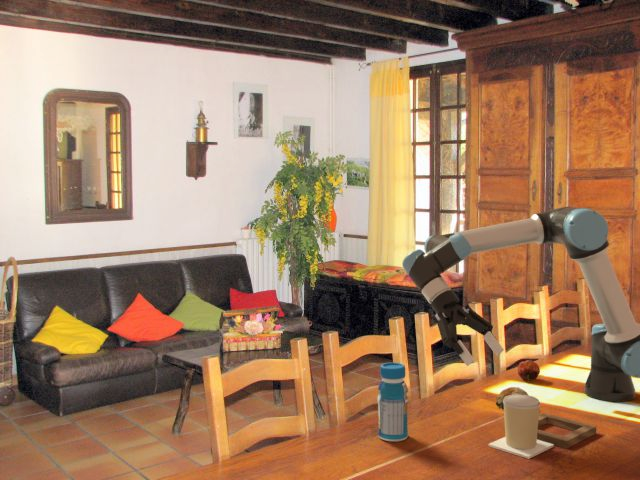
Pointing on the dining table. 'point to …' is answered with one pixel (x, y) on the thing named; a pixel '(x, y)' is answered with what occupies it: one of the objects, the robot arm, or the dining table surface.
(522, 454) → the white tile
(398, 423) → the beverage bottle
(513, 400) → the coffee cup
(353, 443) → the dining table surface
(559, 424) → the square frame
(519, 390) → the bread roll
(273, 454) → the dining table surface
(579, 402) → the dining table surface
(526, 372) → the pomegranate
